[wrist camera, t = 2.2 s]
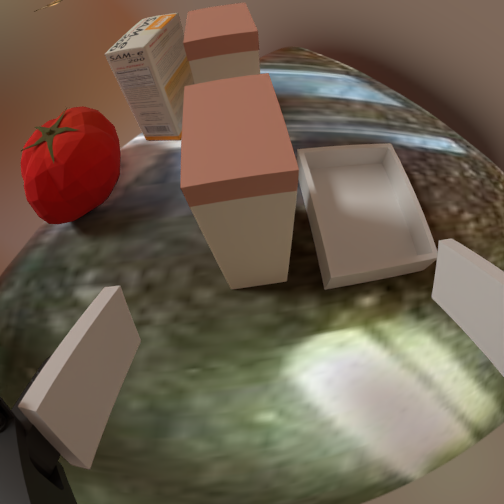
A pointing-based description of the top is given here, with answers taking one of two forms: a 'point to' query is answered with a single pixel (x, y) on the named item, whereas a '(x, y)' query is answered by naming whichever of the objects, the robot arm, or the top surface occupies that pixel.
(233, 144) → the stub
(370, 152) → the tray
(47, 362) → the robot arm
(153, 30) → the supplement box
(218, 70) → the block
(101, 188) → the tomato
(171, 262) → the top surface
